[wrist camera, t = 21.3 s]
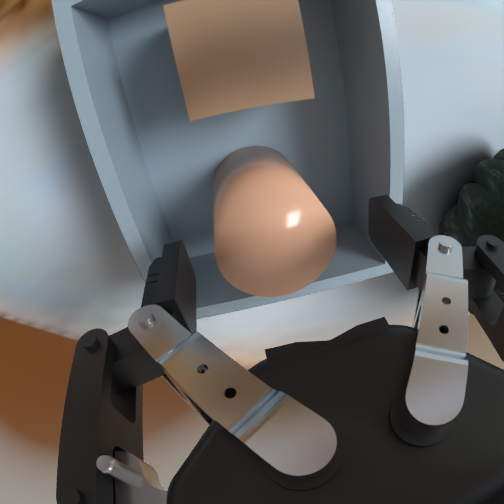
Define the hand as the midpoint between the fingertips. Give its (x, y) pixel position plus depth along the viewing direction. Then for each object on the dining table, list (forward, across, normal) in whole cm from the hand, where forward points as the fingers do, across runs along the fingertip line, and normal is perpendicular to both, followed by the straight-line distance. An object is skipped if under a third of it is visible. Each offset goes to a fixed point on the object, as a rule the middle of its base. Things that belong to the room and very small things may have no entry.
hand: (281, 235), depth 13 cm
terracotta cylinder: (+6, 0, 0) cm, 6 cm away
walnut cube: (+7, 0, -8) cm, 10 cm away
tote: (+7, 0, -4) cm, 8 cm away
